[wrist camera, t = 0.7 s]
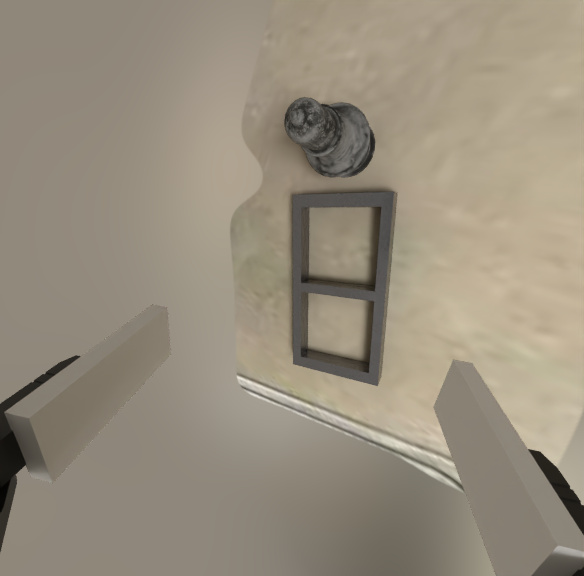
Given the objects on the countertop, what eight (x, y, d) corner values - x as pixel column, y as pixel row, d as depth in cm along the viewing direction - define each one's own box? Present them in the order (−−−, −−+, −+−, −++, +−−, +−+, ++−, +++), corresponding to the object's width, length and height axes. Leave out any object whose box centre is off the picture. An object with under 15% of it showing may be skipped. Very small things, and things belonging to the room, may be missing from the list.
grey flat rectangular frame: (300, 195, 31) (292, 194, 30) (397, 192, 27) (394, 191, 25) (300, 356, 37) (293, 364, 35) (381, 376, 32) (377, 386, 30)
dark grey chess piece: (361, 189, 28) (314, 178, 18) (311, 168, 30) (242, 148, 20) (389, 125, 26) (354, 70, 16) (333, 106, 28) (267, 46, 17)
